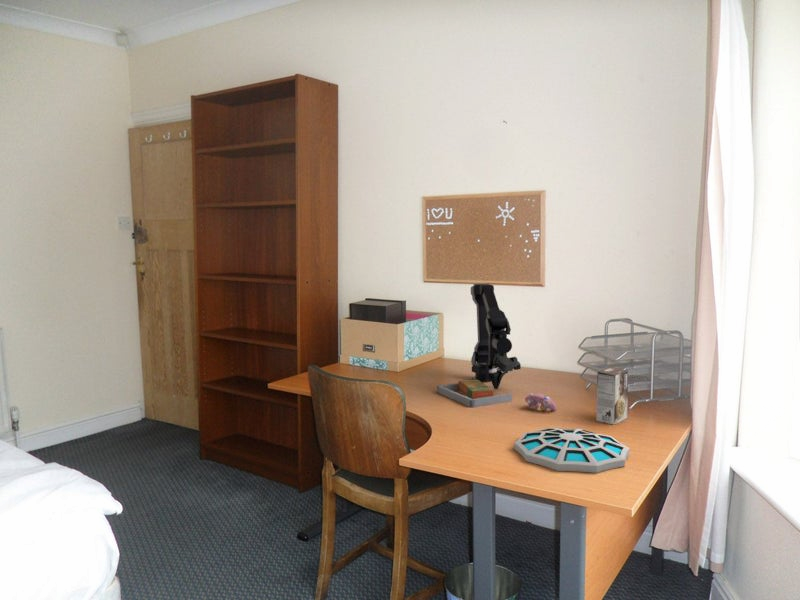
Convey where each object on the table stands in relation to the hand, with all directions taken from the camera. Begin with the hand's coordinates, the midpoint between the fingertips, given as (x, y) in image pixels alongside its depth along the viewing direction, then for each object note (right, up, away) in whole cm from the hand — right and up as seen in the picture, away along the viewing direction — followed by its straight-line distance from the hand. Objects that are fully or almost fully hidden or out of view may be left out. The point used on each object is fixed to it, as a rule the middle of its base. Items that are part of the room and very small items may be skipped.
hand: (496, 389), depth 231 cm
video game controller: (+12, -4, -22) cm, 25 cm away
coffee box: (+32, -5, -34) cm, 47 cm away
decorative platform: (+11, -9, -62) cm, 64 cm away
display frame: (-9, -2, -4) cm, 10 cm away
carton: (-8, -2, -2) cm, 9 cm away
